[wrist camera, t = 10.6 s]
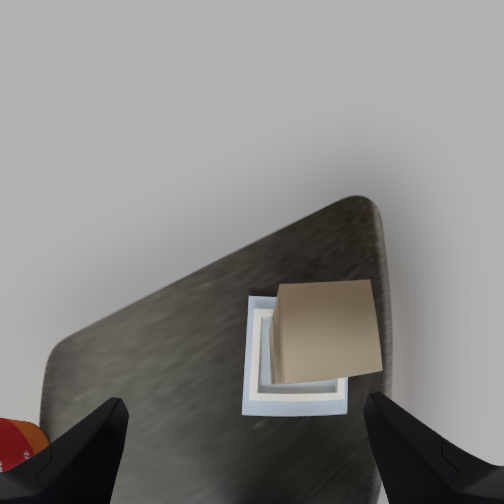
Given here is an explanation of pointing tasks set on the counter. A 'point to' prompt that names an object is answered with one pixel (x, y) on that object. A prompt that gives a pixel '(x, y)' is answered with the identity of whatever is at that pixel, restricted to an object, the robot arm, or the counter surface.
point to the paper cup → (19, 442)
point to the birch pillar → (323, 332)
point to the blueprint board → (282, 395)
